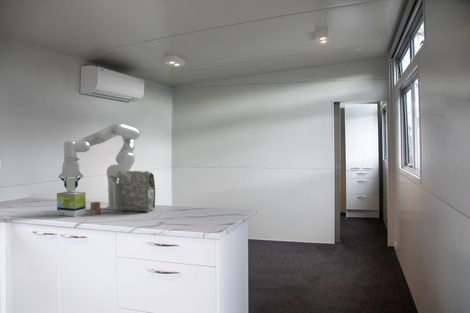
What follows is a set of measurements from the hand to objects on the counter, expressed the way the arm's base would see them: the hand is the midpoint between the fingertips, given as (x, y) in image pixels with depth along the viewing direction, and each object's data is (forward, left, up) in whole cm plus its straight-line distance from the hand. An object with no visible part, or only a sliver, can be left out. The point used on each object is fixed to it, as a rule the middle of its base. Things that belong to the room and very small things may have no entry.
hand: (71, 187), depth 223 cm
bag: (-41, +1, -17) cm, 45 cm away
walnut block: (-15, +6, -18) cm, 24 cm away
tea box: (0, 0, -18) cm, 18 cm away
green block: (0, 0, -2) cm, 2 cm away
